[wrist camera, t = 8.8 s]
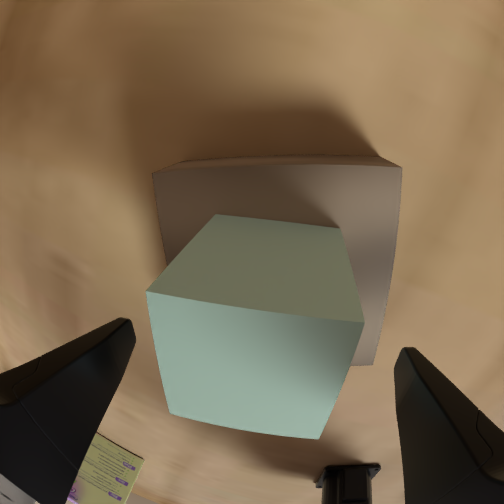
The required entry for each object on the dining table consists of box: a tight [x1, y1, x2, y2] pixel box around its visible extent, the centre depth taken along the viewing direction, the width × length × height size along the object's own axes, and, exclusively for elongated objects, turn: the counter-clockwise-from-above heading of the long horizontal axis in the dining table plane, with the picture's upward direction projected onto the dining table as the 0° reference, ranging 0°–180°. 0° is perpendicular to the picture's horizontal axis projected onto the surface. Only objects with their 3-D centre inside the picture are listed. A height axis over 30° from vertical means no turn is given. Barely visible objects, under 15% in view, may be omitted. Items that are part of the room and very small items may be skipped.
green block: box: [146, 214, 365, 439], centre depth 10 cm, size 5×5×6 cm
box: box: [67, 433, 144, 504], centre depth 28 cm, size 10×6×12 cm, turn 59°
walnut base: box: [152, 155, 402, 366], centre depth 15 cm, size 10×10×4 cm
